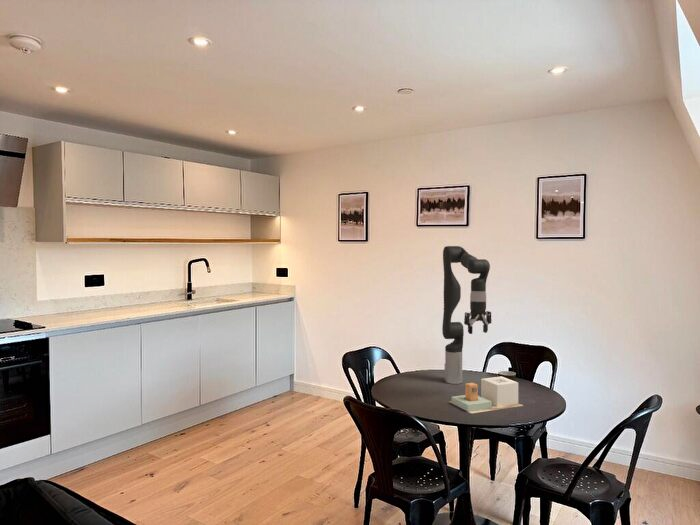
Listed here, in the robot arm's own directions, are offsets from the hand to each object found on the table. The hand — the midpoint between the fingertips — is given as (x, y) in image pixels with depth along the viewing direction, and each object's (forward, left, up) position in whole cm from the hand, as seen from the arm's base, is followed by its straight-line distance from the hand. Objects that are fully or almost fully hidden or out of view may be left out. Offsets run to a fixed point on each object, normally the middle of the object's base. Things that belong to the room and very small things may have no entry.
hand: (477, 333), depth 235 cm
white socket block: (+10, +5, -32) cm, 33 cm away
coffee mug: (-4, +19, -33) cm, 38 cm away
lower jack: (+10, -11, -32) cm, 35 cm away
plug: (+10, -11, -32) cm, 35 cm away
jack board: (+10, -3, -33) cm, 34 cm away
